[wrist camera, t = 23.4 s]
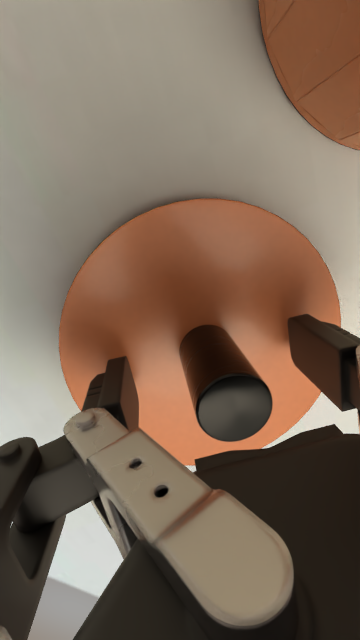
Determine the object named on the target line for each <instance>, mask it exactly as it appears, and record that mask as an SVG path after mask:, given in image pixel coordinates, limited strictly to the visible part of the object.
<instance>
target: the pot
mask: <svg viewBox="0 0 360 640" xmlns="http://www.w3.org/2000/svg"><path fill="white" fill-rule="evenodd" d="M258 2H259V13H260V19H261V26H262V32H263V36H264V40H265V44H266V48H267V52H268V55H269V58H270V61H271V63H272V66H273V68H274V71H275V74H276V76H277V78H278V80H279V82H280V84H281V86H282V88H283V89H284V91H285V93H286V95H287V96H288V98H289V99H290V101H291V102H292V103H293V105H294V106H295V108H296V109H297V110H298V112H299V113H300V114H301V115H302V116H303V117H304V118H305V119H306V120H307V121H308V122H309V123H310V124H311V125H312V126H313V127H315V128H316V129H317V130H318V131H320V132H321V133H322V134H324V135H325V136H327V137H328V138H330V139H332V140H334V141H336V142H338V143H339V144H342V145H345V146H347V147H350V148H353V149H356V150H360V0H258Z"/></svg>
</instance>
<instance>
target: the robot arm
mask: <svg viewBox="0 0 360 640" xmlns="http://www.w3.org/2000/svg"><path fill="white" fill-rule="evenodd" d="M287 324H288V334H289V344H290V353H291V358H292V360H293V363H294V365H295V366H296V367H297V368H298V369H299V370H300V371H301V372H302V373H303V374H304V375H305V376H306V377H307V378H308V379H309V380H310V381H311V382H312V383H313V384H314V385H315V386H316V387H317V388H318V389H319V390H320V391H321V392H323V393H324V394H325V395H326V396H327V397H328V398H329V399H330V400H331V401H332V402H333V403H334V404H335V405H336V406H337V407H338V408H339V409H340V410H341V411H342V412H343V411H347V410H351V409H355V408H357V409H358V425H359V434H343V433H342V432H341V431H340V430H339V428H338V427H337V426H336V425H335V424H333V425H329V426H325V427H321V428H317V429H313V430H309V431H305V432H301V433H299V434H297V435H295V436H293V437H291V438H289V439H287V440H285V441H283V442H281V443H279V444H277V445H275V446H273V447H270V448H266V449H250V450H232V451H226V452H222V453H218V454H214V455H210V456H206V457H202V458H198V459H194V461H195V465H196V470H197V471H195V472H193V473H192V472H191V471H190V470H189V469H188V468H187V467H185V466H184V465H183V464H182V463H181V462H180V461H178V460H177V459H176V458H175V457H174V456H173V455H171V454H170V453H169V452H168V451H167V450H165V449H164V448H163V447H162V446H161V445H160V444H158V443H157V442H156V441H155V440H154V439H153V438H151V437H150V436H149V435H148V434H147V433H146V432H144V431H143V430H142V429H141V428H139V399H138V394H137V389H136V386H135V382H134V379H133V375H132V372H131V368H130V365H129V361H128V359H127V356H123V357H118V358H114V359H110V360H108V362H107V366H106V371H105V373H101V374H97V375H96V377H95V378H94V379H93V380H92V381H91V382H90V385H89V388H88V391H87V395H86V396H87V397H86V398H85V401H84V404H83V407H82V411H81V412H80V413H78V414H76V415H75V416H73V417H72V418H71V419H69V421H68V422H67V423H66V424H65V426H64V434H65V435H64V436H62V437H60V438H58V439H56V440H54V441H52V442H49V443H47V444H45V445H43V446H40V447H38V446H37V444H36V441H35V440H34V439H33V438H30V437H23V438H18V439H15V440H12V441H10V442H8V443H6V444H4V445H2V446H1V447H0V640H27V638H28V635H29V632H30V629H31V626H32V622H33V620H34V616H35V613H36V610H37V607H38V604H39V601H40V598H41V594H42V591H43V588H44V585H45V582H46V578H47V576H48V572H49V569H50V566H51V563H52V560H53V557H54V554H55V550H56V547H57V544H58V541H59V538H60V535H61V531H62V528H63V525H64V522H65V518H66V514H68V513H70V512H71V511H73V510H75V509H77V508H79V507H81V506H83V505H85V504H86V503H88V502H90V501H91V503H92V505H93V506H94V508H95V509H96V511H97V513H98V514H99V516H100V518H101V519H102V521H103V523H104V524H105V526H106V528H107V529H108V531H109V532H110V534H111V536H112V537H113V539H114V541H115V542H116V544H117V546H118V548H119V550H120V552H121V555H122V557H123V559H124V560H123V562H122V563H121V565H120V567H119V568H118V570H117V571H116V573H115V574H114V576H113V578H112V579H111V581H110V582H109V584H108V585H107V587H106V589H105V590H104V592H103V593H102V595H101V596H100V598H99V599H98V601H97V603H96V604H95V606H94V607H93V609H92V611H91V612H90V614H89V615H88V617H87V618H86V620H85V621H84V623H83V625H82V626H81V628H80V629H79V631H78V632H77V634H76V636H75V637H74V639H73V640H360V338H358V337H357V336H355V335H353V334H350V333H349V332H348V331H346V330H343V329H342V328H340V327H339V326H337V325H335V324H331V323H327V322H323V321H322V322H321V321H319V320H318V319H316V318H314V317H313V316H311V315H309V314H302V315H298V316H294V317H290V318H289V319H288V323H287ZM12 521H13V524H12V526H11V523H12ZM10 526H11V528H10Z"/></svg>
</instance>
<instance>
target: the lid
mask: <svg viewBox="0 0 360 640" xmlns="http://www.w3.org/2000/svg"><path fill="white" fill-rule="evenodd" d="M302 314H309V315H311V316H313V317H314V318H316V319H318V320H319V321H321V322H322V321H323V322H327V323H331V324H335V325H337V326H339V327H340V328H341V315H340V306H339V299H338V296H337V292H336V288H335V284H334V282H333V279H332V277H331V274H330V272H329V270H328V267H327V266H326V264H325V263H324V261H323V259H322V258H321V256H320V254H319V253H318V251H317V250H316V249H315V248H314V246H313V245H312V244H311V243H310V242H309V240H308V239H307V238H306V237H305V236H304V235H302V234H301V233H300V232H299V231H298V230H297V229H296V228H295V227H294V226H292V225H291V224H289V223H288V222H286V221H285V220H283V219H282V218H280V217H279V216H277V215H275V214H273V213H271V212H268V211H266V210H264V209H262V208H260V207H257V206H253V205H250V204H247V203H243V202H240V201H233V200H226V199H192V200H185V201H178V202H174V203H171V204H167V205H164V206H160V207H157V208H155V209H152V210H150V211H148V212H146V213H143V214H141V215H139V216H137V217H135V218H134V219H132V220H130V221H129V222H127V223H126V224H124V225H122V226H121V227H119V228H118V229H117V230H115V231H114V232H113V233H112V234H111V235H109V236H108V237H107V238H106V239H105V240H103V241H102V242H101V244H100V245H99V246H98V247H97V248H96V249H95V250H94V251H93V252H92V253H91V255H90V256H89V257H88V258H87V260H86V261H85V263H84V264H83V266H82V267H81V269H80V270H79V272H78V273H77V275H76V277H75V279H74V281H73V283H72V285H71V287H70V289H69V291H68V294H67V297H66V300H65V304H64V307H63V310H62V315H61V321H60V327H59V352H60V360H61V366H62V370H63V374H64V377H65V381H66V384H67V386H68V388H69V390H70V392H71V395H72V397H73V399H74V401H75V402H76V404H77V405H78V407H79V409H80V410H81V411H82V407H83V404H84V401H85V398H86V397H87V396H86V395H87V391H88V388H89V385H90V382H91V381H92V380H93V379H94V378H95V377H96V375H97V374H101V373H105V371H106V366H107V362H108V360H110V359H114V358H118V357H123V356H127V359H128V361H129V365H130V368H131V372H132V375H133V379H134V382H135V386H136V389H137V394H138V399H139V428H141V429H142V430H143V431H144V432H146V433H147V434H148V435H149V436H150V437H151V438H153V439H154V440H155V441H156V442H157V443H158V444H160V445H161V446H162V447H163V448H164V449H165V450H167V451H168V452H169V453H170V454H171V455H173V456H174V457H175V458H176V459H177V460H178V461H180V462H181V463H182V464H183V465H195V461H194V459H198V458H202V457H206V456H210V455H214V454H218V453H222V452H226V451H232V450H250V449H260V448H262V447H264V446H266V445H268V444H269V443H271V442H273V441H274V440H276V439H277V438H278V437H280V436H281V435H283V434H284V433H286V432H287V431H288V430H289V429H290V428H291V427H292V426H294V425H295V424H296V423H297V422H298V421H299V420H300V419H301V418H302V417H303V416H304V415H305V413H306V412H307V411H308V410H309V409H310V408H311V406H312V405H313V403H314V402H315V401H316V399H317V398H318V397H319V395H320V393H321V391H320V390H319V389H318V388H317V387H316V386H315V385H314V384H313V383H312V382H311V381H310V380H309V379H308V378H307V377H306V376H305V375H304V374H303V373H302V372H301V371H300V370H299V369H298V368H297V367H296V366H295V365H294V363H293V360H292V358H291V353H290V344H289V334H288V324H287V323H288V319H289V318H290V317H294V316H298V315H302Z"/></svg>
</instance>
